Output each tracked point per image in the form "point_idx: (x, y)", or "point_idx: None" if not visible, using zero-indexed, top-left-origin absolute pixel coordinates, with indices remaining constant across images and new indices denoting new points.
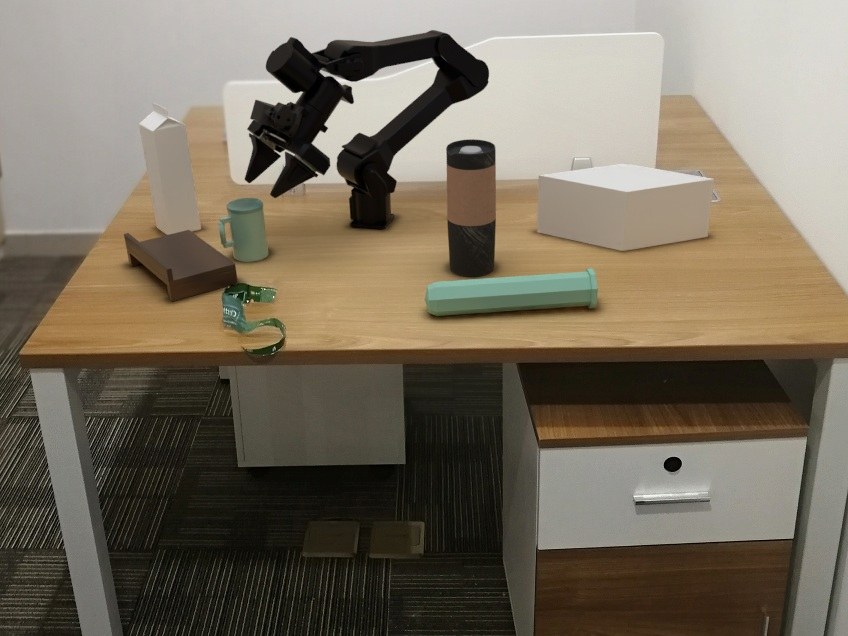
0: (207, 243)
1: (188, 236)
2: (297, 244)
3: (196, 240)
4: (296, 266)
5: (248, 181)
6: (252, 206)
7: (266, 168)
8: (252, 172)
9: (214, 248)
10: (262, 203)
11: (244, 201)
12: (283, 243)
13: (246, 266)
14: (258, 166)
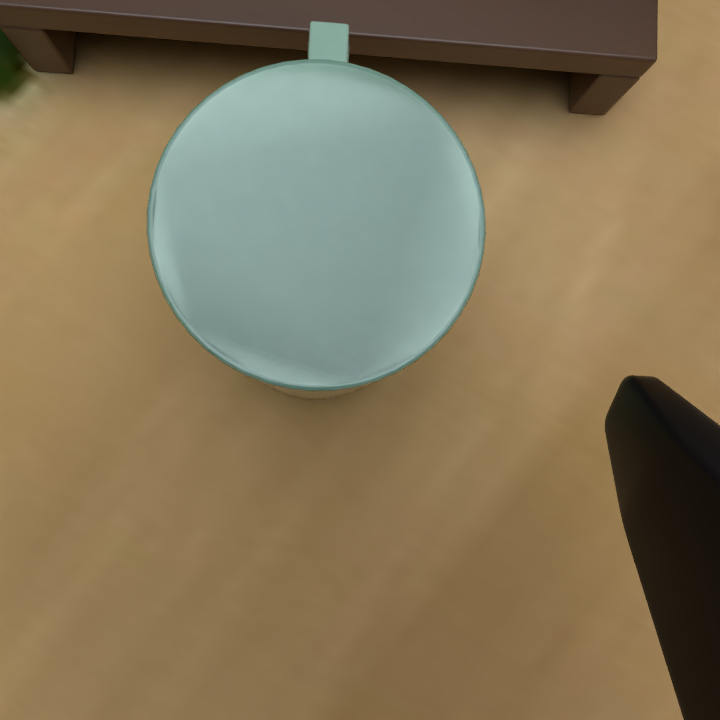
0: (379, 35)
1: (556, 6)
2: (278, 583)
3: (466, 10)
4: (8, 415)
5: (612, 409)
6: (206, 239)
7: (688, 716)
8: (662, 483)
9: (277, 27)
10: (217, 353)
11: (378, 250)
12: (344, 527)
13: None
14: (716, 609)
